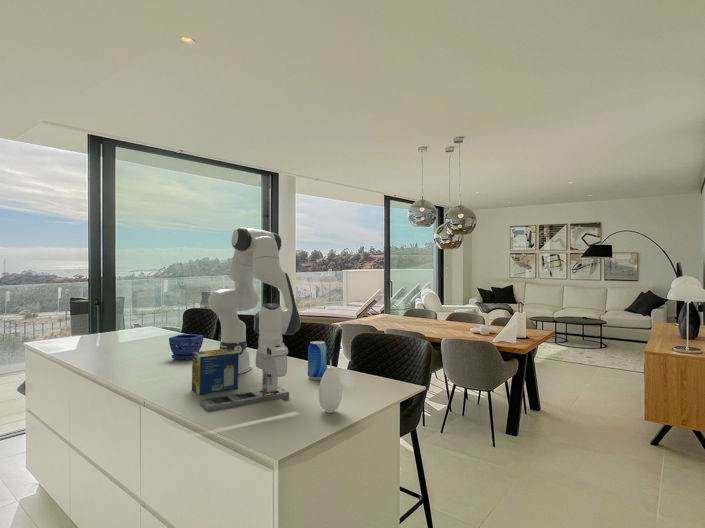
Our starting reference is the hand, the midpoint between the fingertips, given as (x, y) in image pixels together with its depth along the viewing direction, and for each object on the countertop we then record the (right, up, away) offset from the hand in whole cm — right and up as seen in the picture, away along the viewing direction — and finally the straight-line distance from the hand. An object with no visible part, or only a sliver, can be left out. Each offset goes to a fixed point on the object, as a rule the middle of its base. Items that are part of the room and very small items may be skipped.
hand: (270, 383), depth 154 cm
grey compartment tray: (-8, -5, -5) cm, 11 cm away
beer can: (+15, -6, +30) cm, 34 cm away
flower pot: (-58, -6, +66) cm, 89 cm away
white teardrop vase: (+23, -6, -14) cm, 28 cm away
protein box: (-23, -6, +8) cm, 25 cm away
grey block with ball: (0, -2, 0) cm, 2 cm away
